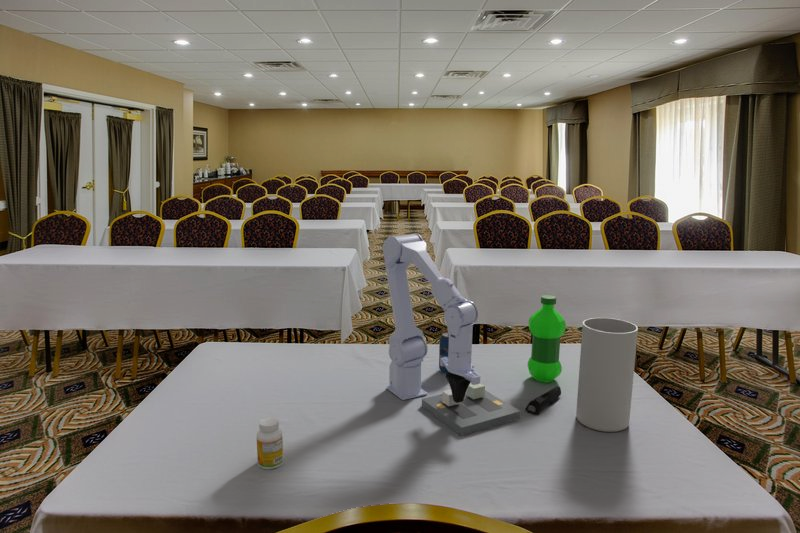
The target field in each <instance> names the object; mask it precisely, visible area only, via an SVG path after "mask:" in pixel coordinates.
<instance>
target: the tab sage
mask: <svg viewBox="0 0 800 533" xmlns="http://www.w3.org/2000/svg"><path fill="white" fill-rule="evenodd" d="M485 388H486V385H484V384H483V383H481V382H480V384H477V385H472V384H471V383H470V384H469V386H468V388H467V396H469V397H471V398H472V399H477V398H481V397H485V390H486V389H485Z"/></svg>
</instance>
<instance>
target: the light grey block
mask: <svg viewBox="0 0 800 533" xmlns="http://www.w3.org/2000/svg"><path fill="white" fill-rule="evenodd" d="M441 394H442V402H443V403H445V404H446V405H447V406H452V405H456V404H460V402H459V403H456V402H455V401H454V400H453V396H452V391H451V388H450V389H449V388H448V389H445V390H442V393H441Z"/></svg>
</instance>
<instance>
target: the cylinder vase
mask: <svg viewBox="0 0 800 533" xmlns="http://www.w3.org/2000/svg"><path fill="white" fill-rule="evenodd" d="M638 330H639V327H638V326H637V325H636V324H635V323H632V322H630V321H627V320H624V319H618V318H612V317H592V318H587V319H584V320H583V321H582V329H581V343H580V344H581V345H580V354H579V355H580V358H579V370H578V382H577V384H578V386H577V397H576V398H577V399H576V409H575V417H576V419H577V421H578V422H580V424H582V425H583V426H585V427H587V428H589V429H591V430H595V431H598V432H606V433H616V432H621V431H623V430H625V429H627V427H629V425H630V418H631V417H630V416H631V408H632V399H633V398H632V396H633V387H634V386H633V384H634V378H635V377H634V374H635V365H636V354H637V353H636V352H637V343H638Z"/></svg>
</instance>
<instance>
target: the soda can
mask: <svg viewBox="0 0 800 533" xmlns="http://www.w3.org/2000/svg"><path fill="white" fill-rule="evenodd" d="M438 344H439V347H438V348H439V351H438V352H439V353H438V356H439V357H438V358H439V359H438V368H439V370H440V372H441V373H442V374H443V373H444V374H443V375H446V374H447V373H450V372H449V371H448V370H447V368H446V367H445V366H441V365H440V358H444V357H448V350H449V333H448V331H447V330H446V331H443V332H441V336H440V337H439V343H438Z"/></svg>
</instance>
